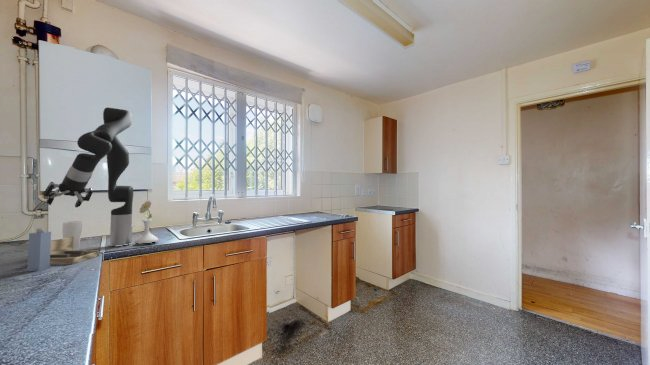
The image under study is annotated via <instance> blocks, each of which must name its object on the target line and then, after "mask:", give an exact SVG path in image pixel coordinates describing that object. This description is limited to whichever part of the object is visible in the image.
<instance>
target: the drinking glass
mask: <svg viewBox="0 0 650 365" xmlns="http://www.w3.org/2000/svg"><path fill="white" fill-rule="evenodd" d="M82 231H83V221H82V220H79V221H78V220H76V221H75V220H74V221H63V222H62V239H63V238H68V237H74V241H73V250H80V244H81V236H82Z"/></svg>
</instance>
